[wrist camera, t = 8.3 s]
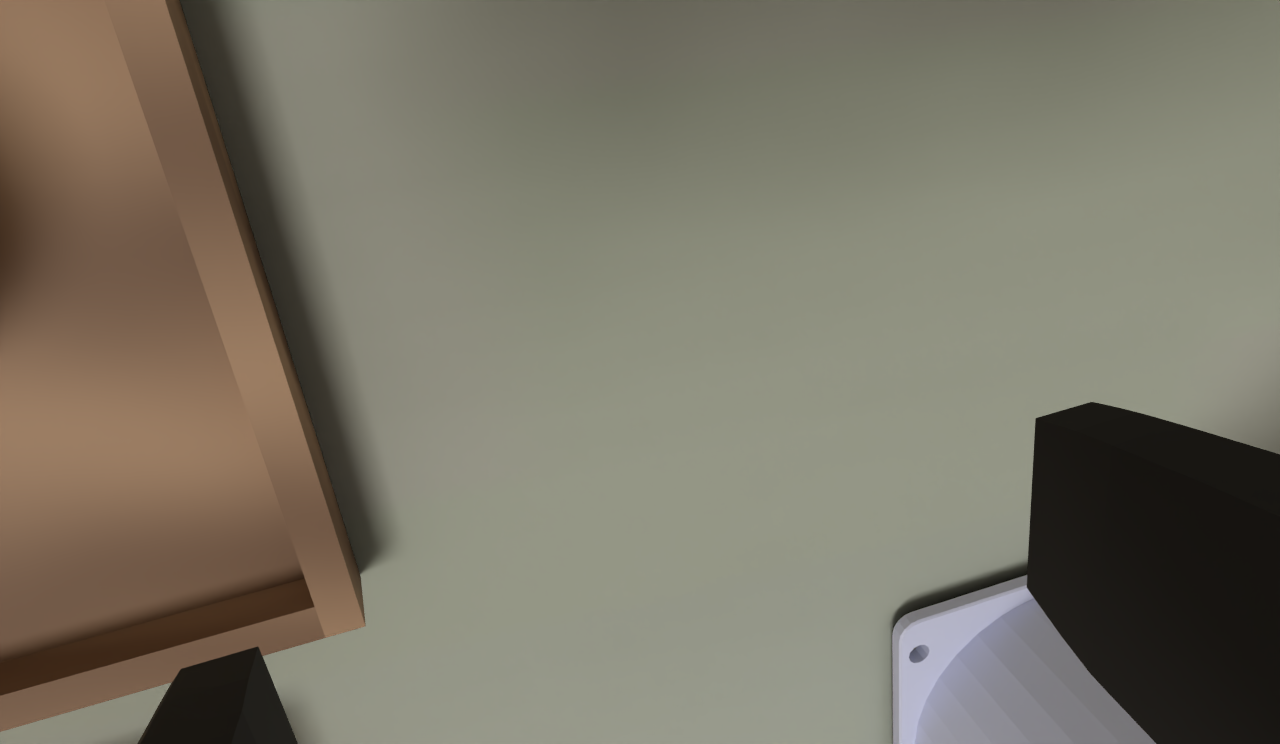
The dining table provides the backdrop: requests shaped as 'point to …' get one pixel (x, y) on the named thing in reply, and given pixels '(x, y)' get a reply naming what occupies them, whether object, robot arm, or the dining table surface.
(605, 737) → the dining table surface
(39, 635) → the tray
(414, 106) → the dining table surface
